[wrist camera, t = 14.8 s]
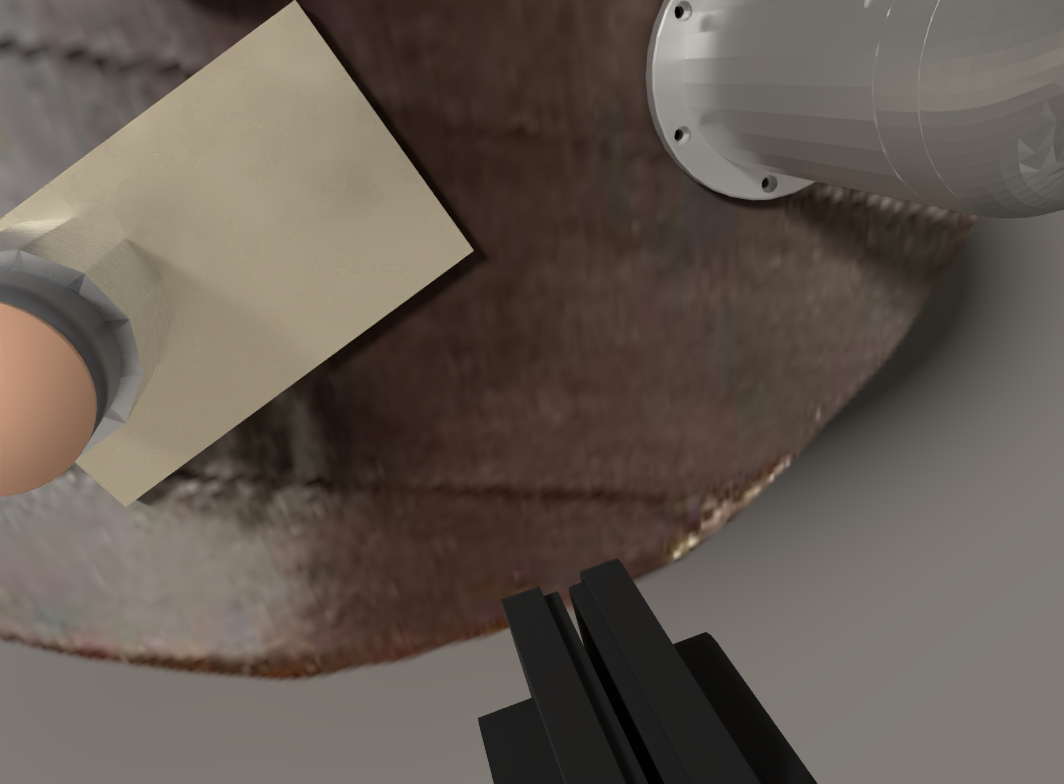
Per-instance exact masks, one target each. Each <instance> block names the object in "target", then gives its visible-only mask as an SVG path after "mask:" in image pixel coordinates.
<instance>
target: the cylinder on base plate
mask: <svg viewBox="0 0 1064 784" xmlns="http://www.w3.org/2000/svg"><path fill="white" fill-rule="evenodd" d="M473 251H474V250H473V249H472V247H471V246H470V245H469V243H468V242H467V240H466V239H465V238H464V236H463V235H462V233H461V232H460V231H459V229H458V228H457V226H456V225H455V223H454V222H453V221H452V219H451V218H450V216H449V215H448V214H447V212H446V211H445V209H444V208H443V207H442V205H441V204H440V202H439V201H438V200H437V198H436V197H435V195H434V194H433V193H432V191H431V190H430V188H429V187H428V186H427V184H426V183H425V181H424V180H423V179H422V177H421V176H420V174H419V173H418V172H417V170H416V169H415V167H414V166H413V165H412V163H411V162H410V160H409V159H408V157H407V156H406V155H405V153H404V152H403V150H402V149H401V148H400V146H399V145H398V143H397V142H396V141H395V139H394V138H393V136H392V135H391V134H390V132H389V131H388V129H387V128H386V127H385V125H384V124H383V122H382V121H381V120H380V118H379V117H378V115H377V114H376V113H375V111H374V110H373V108H372V107H371V106H370V104H369V103H368V101H367V100H366V99H365V97H364V96H363V94H362V93H361V92H360V90H359V89H358V87H357V86H356V84H355V83H354V82H353V80H352V79H351V77H350V76H349V75H348V73H347V72H346V70H345V69H344V68H343V66H342V65H341V63H340V62H339V61H338V59H337V58H336V56H335V55H334V54H333V52H332V51H331V49H330V48H329V47H328V45H327V44H326V42H325V41H324V40H323V38H322V37H321V35H320V34H319V33H318V31H317V30H316V28H315V27H314V26H313V24H312V23H311V21H310V20H309V19H308V17H307V16H306V14H305V13H304V11H303V10H302V9H301V7H300V6H299V4H298V3H297V2H296V0H294V1H293V2H291V3H290V4H289V5H287V6H286V7H285V8H283V9H282V10H281V11H279V12H278V13H277V14H275V15H274V16H273V17H271V18H270V19H269V20H267V21H266V22H264V23H263V24H262V25H260V26H259V27H258V28H256V29H255V30H254V31H252V32H251V33H250V34H248V35H247V36H246V37H244V38H243V39H242V40H240V41H239V42H238V43H236V44H235V45H234V46H232V47H231V48H230V49H228V50H227V51H226V52H224V53H223V54H222V55H220V56H219V57H217V58H216V59H215V60H213V61H212V62H211V63H209V64H208V65H207V66H205V67H204V68H203V69H201V70H200V71H199V72H197V73H196V74H195V75H193V76H192V77H191V78H189V79H188V80H187V81H185V82H184V83H183V84H181V85H180V86H179V87H177V88H176V89H175V90H173V91H172V92H170V93H169V94H168V95H166V96H165V97H164V98H162V99H161V100H160V101H158V102H157V103H156V104H154V105H153V106H152V107H150V108H149V109H148V110H146V111H145V112H144V113H142V114H141V115H140V116H138V117H137V118H136V119H134V120H133V121H132V122H130V123H129V124H128V125H126V126H125V127H123V128H122V129H121V130H119V131H118V132H117V133H115V134H114V135H113V136H111V137H110V138H109V139H107V140H106V141H105V142H103V143H102V144H101V145H99V146H98V147H97V148H95V149H94V150H93V151H91V152H90V153H89V154H87V155H86V156H85V157H83V158H82V159H81V160H79V161H78V162H76V163H75V164H74V165H72V166H71V167H70V168H68V169H67V170H66V171H64V172H63V173H62V174H60V175H59V176H58V177H56V178H55V179H54V180H52V181H51V182H50V183H48V184H47V185H46V186H44V187H43V188H42V189H40V190H39V191H38V192H36V193H35V194H34V195H32V196H31V197H29V198H28V199H27V200H25V201H24V202H23V203H21V204H20V205H19V206H17V207H16V208H15V209H13V210H12V211H11V212H9V213H8V214H7V215H5V216H4V217H3V218H1V219H0V270H13V271H21V272H27V273H32V274H36V275H39V276H42V277H46V278H48V279H51V280H53V281H55V282H58V283H60V284H62V285H63V286H65V287H67V288H69V289H71V290H72V291H74V292H75V293H77V294H78V295H79V296H81V297H82V298H83V299H85V300H86V301H87V302H88V303H89V304H90V305H91V306H92V307H93V308H94V309H95V310H96V311H97V312H98V313H99V314H100V316H101V317H102V318H103V320H104V321H105V322H106V324H107V325H108V327H109V329H110V331H111V333H112V335H113V337H114V339H115V342H116V344H117V347H118V351H119V356H120V363H121V375H120V383H119V387H118V391H117V394H116V396H115V399H114V401H113V403H112V405H111V406H110V408H109V410H108V411H107V413H106V414H105V416H104V418H103V419H102V421H101V423H100V424H99V426H98V427H97V429H96V431H95V432H94V434H93V435H92V437H91V439H90V440H89V442H88V444H87V445H86V447H85V448H84V450H83V451H82V453H81V455H80V456H79V457H78V459H77V460H76V461H75V463H77V464H78V465H79V466H80V467H81V468H82V469H83V470H84V471H86V472H87V473H88V474H89V475H90V476H91V477H92V478H93V479H95V480H96V481H97V482H98V483H99V484H100V485H101V486H102V487H104V488H105V489H106V490H107V491H108V492H109V493H110V494H111V495H113V496H114V497H115V498H116V499H117V500H118V501H119V502H120V503H122V504H123V505H124V506H125V507H126V506H128V505H129V504H131V503H132V502H133V501H135V500H136V499H137V498H139V497H140V496H141V495H143V494H144V493H145V492H147V491H148V490H150V489H151V488H152V487H154V486H155V485H156V484H158V483H159V482H160V481H162V480H163V479H165V478H166V477H167V476H169V475H170V474H171V473H173V472H174V471H175V470H177V469H178V468H179V467H181V466H182V465H184V464H185V463H186V462H188V461H189V460H190V459H192V458H193V457H194V456H196V455H197V454H198V453H200V452H201V451H203V450H204V449H205V448H207V447H208V446H209V445H211V444H212V443H213V442H215V441H216V440H217V439H219V438H220V437H222V436H223V435H224V434H226V433H227V432H228V431H230V430H231V429H232V428H234V427H235V426H236V425H238V424H239V423H241V422H242V421H243V420H245V419H246V418H247V417H249V416H250V415H251V414H253V413H254V412H255V411H257V410H258V409H260V408H261V407H262V406H264V405H265V404H266V403H268V402H269V401H270V400H272V399H273V398H274V397H276V396H277V395H279V394H280V393H281V392H283V391H284V390H285V389H287V388H288V387H289V386H291V385H292V384H293V383H295V382H296V381H298V380H299V379H300V378H302V377H303V376H304V375H306V374H307V373H308V372H310V371H311V370H313V369H314V368H315V367H317V366H318V365H319V364H321V363H322V362H323V361H325V360H326V359H327V358H329V357H330V356H332V355H333V354H334V353H336V352H337V351H338V350H340V349H341V348H342V347H344V346H345V345H346V344H348V343H349V342H351V341H352V340H353V339H355V338H356V337H357V336H359V335H360V334H361V333H363V332H364V331H365V330H367V329H368V328H370V327H371V326H372V325H374V324H375V323H376V322H378V321H379V320H380V319H382V318H383V317H384V316H386V315H387V314H389V313H390V312H391V311H393V310H394V309H395V308H397V307H398V306H399V305H401V304H402V303H403V302H405V301H406V300H408V299H409V298H410V297H412V296H413V295H414V294H416V293H417V292H418V291H420V290H421V289H422V288H424V287H425V286H427V285H428V284H429V283H431V282H432V281H433V280H435V279H436V278H437V277H439V276H440V275H441V274H443V273H444V272H446V271H447V270H448V269H450V268H451V267H452V266H454V265H455V264H456V263H458V262H459V261H461V260H462V259H463V258H465V257H466V256H467V255H469V254H470V253H471V252H473Z"/></svg>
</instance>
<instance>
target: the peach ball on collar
mask: <svg viewBox="0 0 1064 784" xmlns="http://www.w3.org/2000/svg"><path fill="white" fill-rule="evenodd" d="M120 375H121V363H120V356H119V351H118V347H117V344H116V342H115V339H114V337H113V335H112V333H111V331H110V329H109V327H108V325H107V324H106V322H105V321H104V320H103V318H102V317H101V316H100V314H99V313H98V312H97V311H96V310H95V309H94V308H93V307H92V306H91V305H90V304H89V303H88V302H87V301H86V300H85V299H83V298H82V297H81V296H79V295H78V294H77V293H75V292H74V291H72V290H71V289H69V288H67V287H65V286H63V285H62V284H60V283H58V282H55V281H53V280H51V279H48V278H46V277H42V276H39V275H36V274H32V273H27V272H21V271H13V270H0V497H2V496H11V495H15V494H20V493H24V492H27V491H30V490H33V489H36V488H38V487H40V486H43V485H45V484H47V483H49V482H51V481H52V480H54V479H55V478H57V477H58V476H60V475H61V474H62V473H64V472H65V471H66V470H67V469H68V468H69V467H71V465H72V464H73V463H74V462H75V461H76V460H77V459H78V457H79V456H80V455H81V453H82V451H83V450H84V448H85V447H86V445H87V444H88V442H89V440H90V439H91V437H92V435H93V434H94V432H95V431H96V429H97V427H98V426H99V424H100V423H101V421H102V419H103V418H104V416H105V414H106V413H107V411H108V410H109V408H110V406H111V405H112V403H113V401H114V399H115V396H116V394H117V391H118V387H119V383H120Z"/></svg>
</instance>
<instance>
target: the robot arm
mask: <svg viewBox="0 0 1064 784" xmlns="http://www.w3.org/2000/svg"><path fill="white" fill-rule="evenodd" d="M675 7H678V8H679V9H680V16H679V17H678V18H676V17H675V12H674V11H675ZM646 86H647V97H648V105H649V108H650V112H651V116H652V119H653V123H654V126H655V129H656V131H657V133H658V135H659V137H660V139H661V141H662V143H663V145H664V147H665V149H666V151H667V152H668V153H669V155H670V156H671V157H672V159H673V160H674V161H675V162H676V164H677V165H678V166H679V168H681V169H682V170H683V171H684V172H685V173H686V174H688V175H689V176H690V177H691V178H692V179H693V180H695V181H696V182H698V183H700V184H701V185H703V186H705V187H707V188H709V189H711V190H713V191H715V192H718V193H721V194H724V195H727V196H730V197H736V198H742V199H748V200H768V199H774V198H778V197H782V196H786V195H789V194H793V193H796V192H798V191H800V190H802V189H804V188H806V187H808V186H810V185H812V184H814V183H815V182H821V183H825V184H830V185H835V186H840V187H844V188H849V189H854V190H859V191H863V192H868V193H873V194H878V195H882V196H887V197H892V198H897V199H902V200H906V201H911V202H916V203H921V204H925V205H930V206H935V207H940V208H945V209H949V210H954V211H958V212H963V213H968V214H973V215H978V216H986V217H995V218H1026V217H1033V216H1039V215H1044V214H1048V213H1052V212H1056V211H1060V210H1064V0H664V1H663V4H662V6H661V8H660V11H659V13H658V15H657V18H656V20H655V22H654V26H653V30H652V34H651V38H650V43H649V47H648V52H647V66H646ZM677 129H678V130H679V133H680V135H679V138H678V139H676V140H675V138H674V135H675V131H676V130H677ZM763 179H764V180H765V182H764V184H763V186H762V181H763ZM580 579H581V583H579V584H576V585H573V586H570V587H569V592H570V596H571V600H572V604H573V608H574V611H575V615H576V618H577V622H578V626H579V629H580V633H581V637H582V641H583V644H584V646H583V644H582V642H581V640H580V638H579V635H578V633H577V631H576V629H575V627H574V625H573V623H572V621H571V618H570V616H569V614H568V612H567V610H566V608H565V606H564V604H563V602H562V599H561V597H560V595H559V593H558V592H554V593H551V594H548V595H546V596H543V594H542V591H541V589H540V588H539V586H538V587H535V588H533V589H530V590H527V591H524V592H521V593H519V594H516V595H513V596H510V597H508V598H505V599H502V600H501V602H502V605H503V608H504V611H505V615H506V618H507V621H508V624H509V627H510V630H511V634H512V637H513V640H514V643H515V646H516V649H517V653H518V655H519V659H520V662H521V665H522V668H523V672H524V675H525V678H526V681H527V684H528V687H529V691H530V694H531V697H532V698H530V699H527V700H525V701H522V702H519V703H517V704H514V705H511V706H509V707H506V708H503V709H501V710H498V711H495V712H493V713H490V714H487V715H485V716H482V717H479V718H478V721H479V726H480V730H481V734H482V738H483V742H484V746H485V750H486V754H487V758H488V762H489V766H490V770H491V774H492V778H493V782H494V784H817V783H816V781H815V780H814V778H813V777H812V775H811V774H810V772H809V771H808V770H807V768H806V767H805V765H804V764H803V763H802V761H801V760H800V759H799V757H798V756H797V754H796V753H795V752H794V750H793V749H792V747H791V746H790V744H789V743H788V742H787V740H786V739H785V737H784V736H783V734H782V733H781V732H780V730H779V729H778V727H777V726H776V725H775V723H774V722H773V720H772V719H771V718H770V716H769V715H768V713H767V712H766V711H765V709H764V708H763V707H762V705H761V704H760V702H759V701H758V699H757V698H756V697H755V695H754V694H753V692H752V691H751V689H750V688H749V687H748V685H747V684H746V682H745V681H744V680H743V678H742V677H741V676H740V674H739V673H738V671H737V670H736V669H735V667H734V666H733V664H732V663H731V661H730V660H729V659H728V657H727V656H726V654H725V653H724V651H723V650H722V649H721V647H720V646H719V644H718V643H717V642H716V641H715V639H714V638H713V637H712V636H711V635H710V634H708V633H707V632H705V633H702V634H699V635H697V636H694V637H691V638H689V639H686V640H683V641H681V642H678V643H675V644H672V642H671V641H670V639H669V638H668V636H667V634H666V633H665V631H664V630H663V628H662V627H661V625H660V623H659V622H658V620H657V619H656V617H655V615H654V614H653V612H652V611H651V609H650V607H649V606H648V604H647V603H646V601H645V599H644V598H643V596H642V595H641V593H640V592H639V590H638V588H637V587H636V585H635V584H634V582H633V580H632V579H631V577H630V576H629V574H628V572H627V571H626V569H625V568H624V566H623V565H622V563H621V562H620V560H619V559H617V558H616V559H613V560H611V561H608V562H605V563H602V564H599V565H597V566H594V567H591V568H588V569H586V570H583V571H580Z"/></svg>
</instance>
